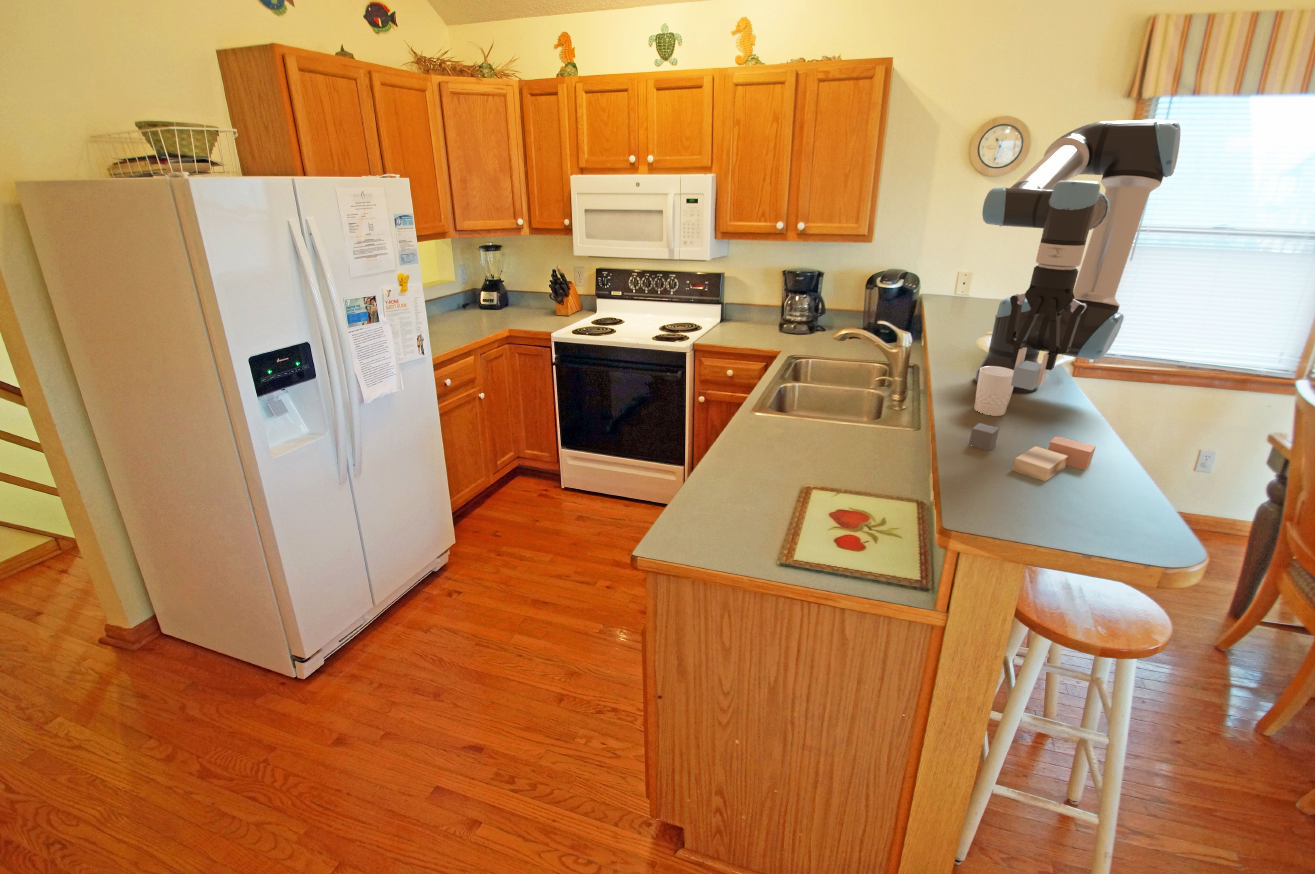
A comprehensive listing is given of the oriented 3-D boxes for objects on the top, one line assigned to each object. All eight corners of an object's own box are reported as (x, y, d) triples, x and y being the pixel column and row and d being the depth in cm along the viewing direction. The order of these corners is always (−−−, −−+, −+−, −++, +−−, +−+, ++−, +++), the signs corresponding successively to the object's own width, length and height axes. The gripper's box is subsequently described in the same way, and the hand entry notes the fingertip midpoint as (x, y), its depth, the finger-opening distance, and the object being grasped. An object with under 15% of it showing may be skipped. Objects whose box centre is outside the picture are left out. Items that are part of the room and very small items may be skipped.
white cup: (1012, 418, 149) (1022, 377, 145) (975, 415, 151) (984, 375, 147) (1002, 406, 156) (1011, 367, 152) (967, 404, 158) (976, 365, 154)
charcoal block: (975, 440, 138) (979, 422, 136) (995, 445, 135) (999, 428, 134) (968, 445, 135) (972, 428, 134) (988, 451, 133) (992, 433, 131)
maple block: (1031, 459, 130) (1035, 445, 129) (1064, 469, 126) (1068, 455, 124) (1011, 472, 125) (1015, 458, 123) (1044, 483, 120) (1048, 468, 119)
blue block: (1021, 378, 137) (1026, 360, 136) (1042, 383, 135) (1047, 364, 133) (1010, 385, 133) (1015, 366, 131) (1031, 390, 130) (1036, 371, 129)
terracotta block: (1045, 459, 129) (1050, 441, 128) (1051, 453, 132) (1056, 436, 130) (1084, 470, 125) (1090, 452, 123) (1090, 464, 127) (1095, 446, 126)
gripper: (1003, 263, 127) (978, 376, 137) (1102, 273, 117) (1068, 395, 126) (1016, 259, 132) (991, 368, 142) (1112, 269, 121) (1079, 387, 131)
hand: (1027, 381), depth 134 cm, fingers closed on blue block, 4 cm apart
